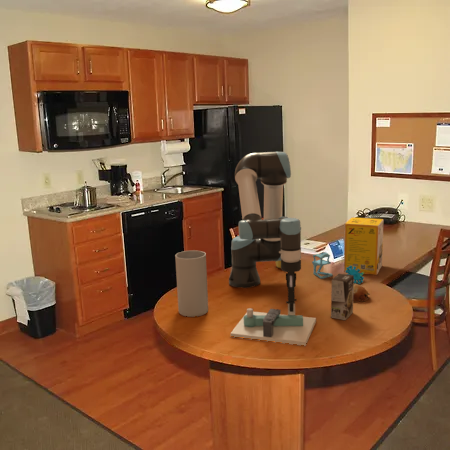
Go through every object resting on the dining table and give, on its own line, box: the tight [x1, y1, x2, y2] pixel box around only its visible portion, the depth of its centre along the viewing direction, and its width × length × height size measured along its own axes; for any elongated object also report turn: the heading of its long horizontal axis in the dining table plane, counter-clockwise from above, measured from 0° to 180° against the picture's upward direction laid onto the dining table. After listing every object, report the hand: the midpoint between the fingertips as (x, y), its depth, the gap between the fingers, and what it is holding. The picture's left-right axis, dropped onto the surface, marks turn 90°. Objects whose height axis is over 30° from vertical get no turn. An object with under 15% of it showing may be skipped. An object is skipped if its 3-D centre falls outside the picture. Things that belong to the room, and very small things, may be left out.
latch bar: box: [243, 307, 304, 327], centre depth 194 cm, size 22×5×6 cm, turn 86°
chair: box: [311, 252, 333, 280], centre depth 254 cm, size 8×8×12 cm
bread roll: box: [353, 283, 371, 303], centre depth 223 cm, size 10×10×8 cm
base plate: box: [230, 311, 317, 347], centre depth 195 cm, size 28×22×2 cm
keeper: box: [263, 308, 282, 337], centre depth 190 cm, size 4×12×6 cm, turn 161°
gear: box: [344, 266, 365, 285], centre depth 244 cm, size 11×6×10 cm
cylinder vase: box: [174, 250, 209, 318], centre depth 212 cm, size 12×12×25 cm
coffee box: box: [330, 273, 355, 321], centre depth 204 cm, size 9×6×16 cm
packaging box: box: [343, 216, 384, 276], centre depth 261 cm, size 16×16×25 cm
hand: (291, 318), depth 196 cm, fingers closed
